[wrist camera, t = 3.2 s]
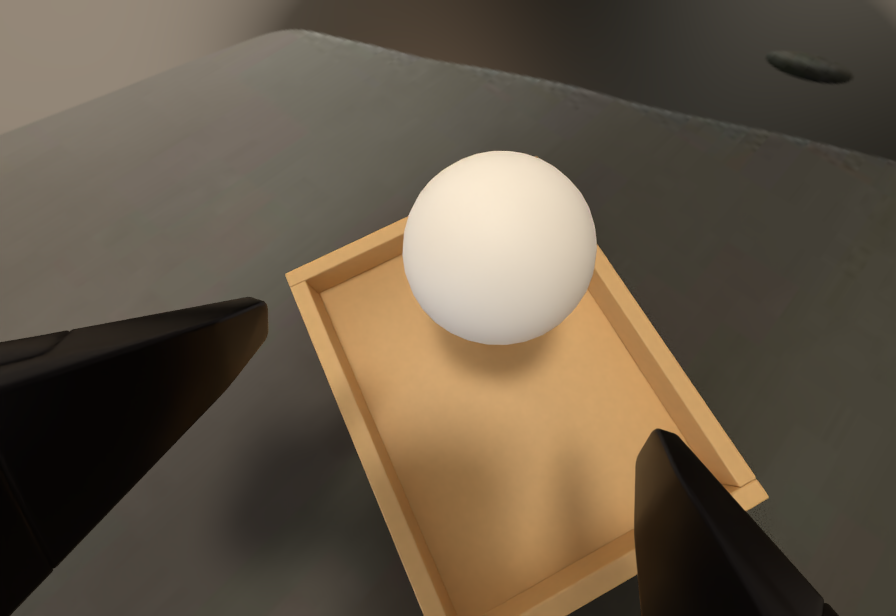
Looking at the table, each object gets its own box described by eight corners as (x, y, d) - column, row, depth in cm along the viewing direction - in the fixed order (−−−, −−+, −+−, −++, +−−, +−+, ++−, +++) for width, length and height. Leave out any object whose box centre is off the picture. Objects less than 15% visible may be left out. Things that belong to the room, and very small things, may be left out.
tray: (734, 490, 19) (770, 498, 16) (453, 651, 18) (451, 683, 15) (530, 182, 24) (537, 155, 22) (303, 290, 23) (284, 273, 20)
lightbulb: (540, 257, 22) (603, 93, 12) (557, 373, 20) (650, 304, 10) (424, 266, 22) (383, 113, 12) (430, 382, 20) (388, 325, 10)
